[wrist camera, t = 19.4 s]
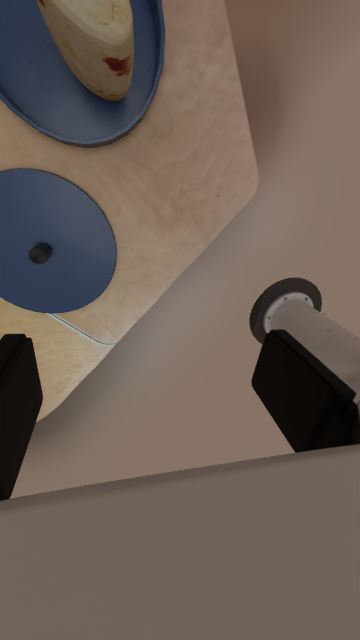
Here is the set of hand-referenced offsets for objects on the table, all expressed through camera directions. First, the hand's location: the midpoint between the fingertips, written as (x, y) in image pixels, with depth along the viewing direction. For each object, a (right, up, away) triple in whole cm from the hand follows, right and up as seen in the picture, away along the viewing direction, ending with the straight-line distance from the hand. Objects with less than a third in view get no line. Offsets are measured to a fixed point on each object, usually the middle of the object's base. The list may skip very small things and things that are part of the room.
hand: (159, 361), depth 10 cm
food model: (-10, +34, +23) cm, 42 cm away
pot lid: (-22, +13, +31) cm, 40 cm away
